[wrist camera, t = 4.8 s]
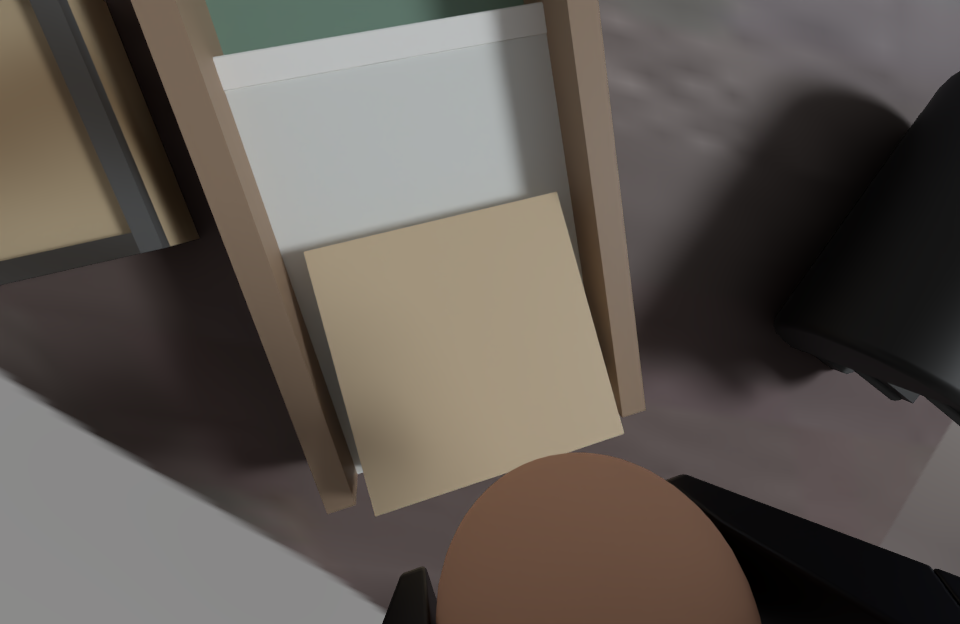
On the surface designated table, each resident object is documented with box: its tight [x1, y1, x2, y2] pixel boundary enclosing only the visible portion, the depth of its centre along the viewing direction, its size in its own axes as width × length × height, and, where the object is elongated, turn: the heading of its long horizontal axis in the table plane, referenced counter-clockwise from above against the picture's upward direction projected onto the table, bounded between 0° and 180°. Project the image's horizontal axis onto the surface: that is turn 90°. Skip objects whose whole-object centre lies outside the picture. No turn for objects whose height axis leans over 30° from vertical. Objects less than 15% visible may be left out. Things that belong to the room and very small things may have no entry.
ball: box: [436, 453, 761, 624], centre depth 7 cm, size 4×4×4 cm
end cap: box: [773, 71, 960, 426], centre depth 15 cm, size 10×7×7 cm
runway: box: [131, 0, 646, 517], centre depth 11 cm, size 19×10×5 cm, turn 12°
